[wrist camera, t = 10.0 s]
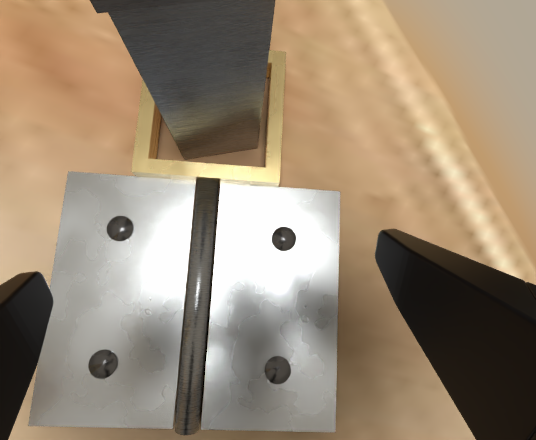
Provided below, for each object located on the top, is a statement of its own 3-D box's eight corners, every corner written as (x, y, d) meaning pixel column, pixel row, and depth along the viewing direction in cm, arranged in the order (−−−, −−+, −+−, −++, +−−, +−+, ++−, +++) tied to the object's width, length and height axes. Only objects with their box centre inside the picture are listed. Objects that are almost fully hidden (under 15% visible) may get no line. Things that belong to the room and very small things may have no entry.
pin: (261, 150, 20) (290, -36, 8) (181, 163, 19) (81, -15, 7) (246, 78, 20) (252, -196, 8) (169, 89, 20) (58, -187, 8)
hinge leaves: (332, 427, 18) (340, 441, 16) (35, 420, 17) (15, 435, 15) (339, 73, 21) (347, 58, 20) (93, 48, 20) (81, 30, 18)
